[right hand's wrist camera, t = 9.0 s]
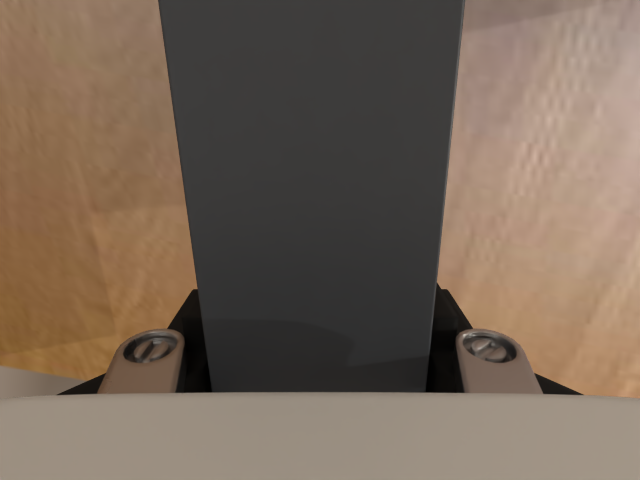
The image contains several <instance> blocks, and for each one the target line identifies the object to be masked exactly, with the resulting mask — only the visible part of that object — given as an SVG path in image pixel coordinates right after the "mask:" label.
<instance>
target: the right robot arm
mask: <svg viewBox="0 0 640 480" xmlns="http://www.w3.org/2000/svg"><path fill="white" fill-rule="evenodd" d="M0 480H640V399H639V398H627V397H612V396H592V395H583V394H581V393H578V392H576V391H574V390H572V389H569V388H567V387H565V386H563V385H560V384H558V383H556V382H554V381H551V380H549V379H547V378H544V377H542V376H540V375H538V374H535V373H534V372H533V370H532V368H531V365H530V363H529V361H528V359H527V357H526V354H525V352H524V350H523V349H522V347H521V346H520V345H519V344H518V343H517V342H516V341H514V340H513V339H511V338H510V337H508V336H506V335H504V334H501V333H498V332H495V331H492V330H486V329H473V328H472V326H471V324H470V323H469V321H468V320H467V318H466V317H465V315H464V314H463V312H462V311H461V309H460V308H459V306H458V305H457V303H456V302H455V300H454V299H453V297H452V295H451V294H450V292H449V291H448V290H447V289H441V288H440V286H439V285H438V283H437V285H436V295H435V305H434V314H433V324H432V334H431V344H430V354H429V364H428V374H427V384H426V393H401V392H225V393H212V390H211V382H210V375H209V368H208V360H207V353H206V346H205V338H204V331H203V324H202V317H201V309H200V302H199V295H198V289H193V290H192V292H191V293H190V294H189V296H188V298H187V299H186V301H185V302H184V304H183V305H182V307H181V308H180V310H179V311H178V313H177V314H176V316H175V317H174V319H173V320H172V322H171V324H170V325H169V327H168V328H167V329H154V330H148V331H145V332H142V333H139V334H136V335H134V336H132V337H130V338H129V339H127V340H126V341H124V342H123V343H122V344H121V345H120V346H119V347H118V349H117V350H116V352H115V354H114V357H113V359H112V361H111V363H110V365H109V368H108V370H107V372H106V373H105V374H103V375H100V376H98V377H96V378H94V379H91V380H89V381H87V382H85V383H82V384H80V385H78V386H76V387H73V388H71V389H69V390H66V391H64V392H62V393H60V394H57V395H51V396H28V397H14V398H2V399H0Z"/></svg>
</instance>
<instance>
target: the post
mask: <svg viewBox="0 0 640 480" xmlns="http://www.w3.org/2000/svg"><path fill="white" fill-rule="evenodd" d="M158 2H159V10H160V17H161V24H162V32H163V39H164V46H165V54H166V61H167V68H168V76H169V83H170V90H171V97H172V105H173V112H174V119H175V127H176V134H177V141H178V149H179V156H180V163H181V170H182V178H183V185H184V192H185V200H186V207H187V214H188V222H189V229H190V236H191V244H192V251H193V258H194V265H195V273H196V280H197V287H198V295H199V302H200V309H201V317H202V324H203V331H204V338H205V346H206V353H207V360H208V368H209V375H210V382H211V390H212V393H225V392H401V393H426V384H427V374H428V364H429V354H430V344H431V334H432V324H433V314H434V305H435V295H436V285H437V275H438V265H439V255H440V245H441V235H442V225H443V215H444V205H445V195H446V185H447V175H448V165H449V155H450V145H451V135H452V125H453V116H454V106H455V96H456V86H457V76H458V66H459V56H460V46H461V36H462V26H463V16H464V6H465V0H158Z"/></svg>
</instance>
